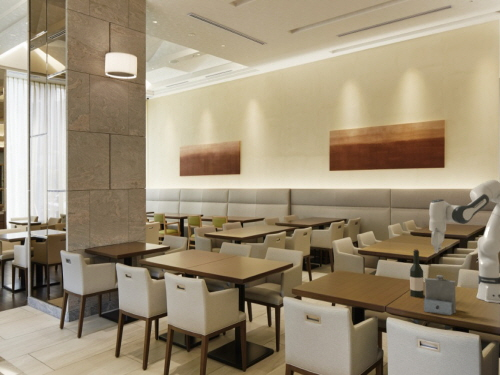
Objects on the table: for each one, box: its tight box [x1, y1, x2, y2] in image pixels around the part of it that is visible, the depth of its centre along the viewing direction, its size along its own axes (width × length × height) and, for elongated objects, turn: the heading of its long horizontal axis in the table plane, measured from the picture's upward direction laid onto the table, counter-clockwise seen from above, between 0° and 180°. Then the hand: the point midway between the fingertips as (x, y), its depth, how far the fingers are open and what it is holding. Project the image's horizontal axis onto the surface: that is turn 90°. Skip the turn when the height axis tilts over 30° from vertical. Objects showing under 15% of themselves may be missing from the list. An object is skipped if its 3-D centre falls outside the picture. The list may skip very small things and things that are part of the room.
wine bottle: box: [409, 248, 425, 298], centre depth 261 cm, size 8×8×30 cm
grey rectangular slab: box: [424, 274, 457, 314], centre depth 230 cm, size 16×4×20 cm, turn 56°
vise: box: [423, 297, 453, 316], centre depth 229 cm, size 14×14×7 cm
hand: (437, 251), depth 231 cm, fingers open, 8 cm apart
